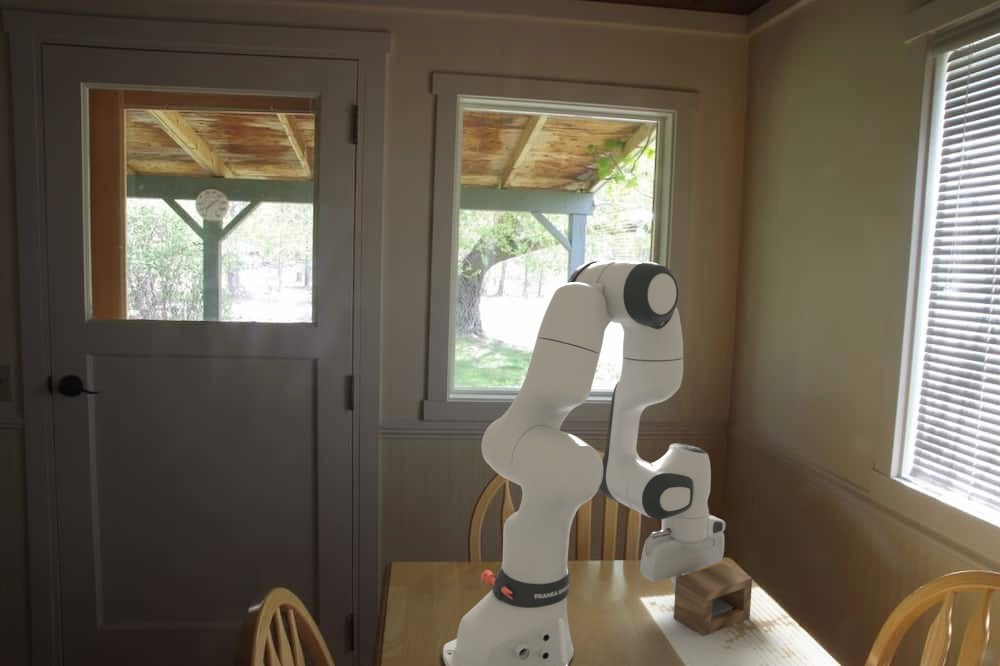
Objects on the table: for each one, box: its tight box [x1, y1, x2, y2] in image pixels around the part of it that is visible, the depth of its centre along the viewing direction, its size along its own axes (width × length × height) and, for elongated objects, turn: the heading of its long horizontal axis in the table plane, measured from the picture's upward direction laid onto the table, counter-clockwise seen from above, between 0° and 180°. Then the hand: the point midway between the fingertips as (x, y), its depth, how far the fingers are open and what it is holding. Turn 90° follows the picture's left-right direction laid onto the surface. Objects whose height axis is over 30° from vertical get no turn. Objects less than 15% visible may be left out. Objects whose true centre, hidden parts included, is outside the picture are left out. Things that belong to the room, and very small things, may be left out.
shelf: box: [673, 563, 753, 637], centre depth 122 cm, size 13×7×8 cm, turn 121°
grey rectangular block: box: [711, 598, 733, 618], centre depth 125 cm, size 6×9×3 cm, turn 31°
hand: (680, 591), depth 129 cm, fingers closed
